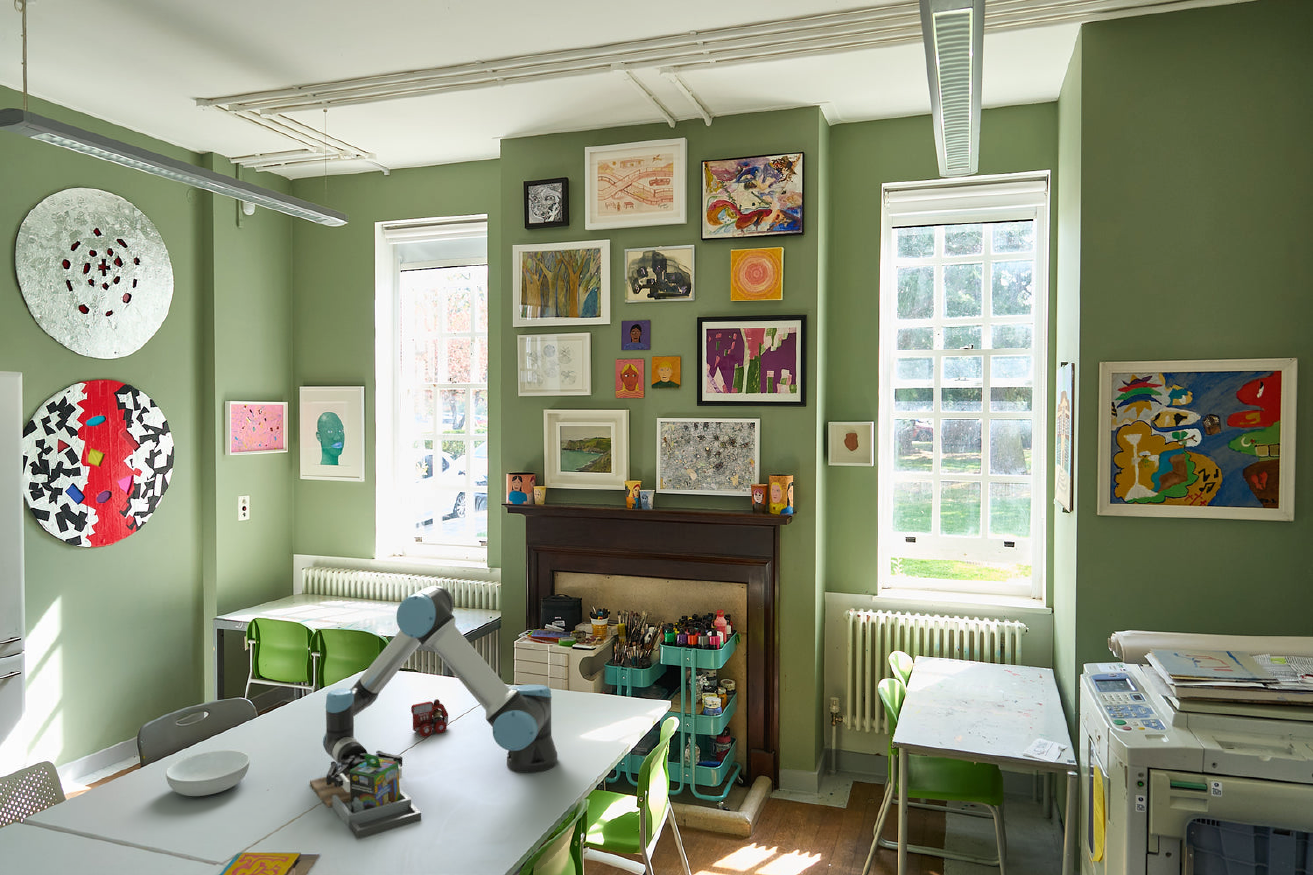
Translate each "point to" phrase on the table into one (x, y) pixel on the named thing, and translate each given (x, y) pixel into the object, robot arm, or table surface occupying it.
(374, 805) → the chalk box
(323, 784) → the wooden board
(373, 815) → the grey open tray
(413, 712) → the toy fire truck
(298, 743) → the table surface
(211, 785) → the serving bowl
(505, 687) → the robot arm
